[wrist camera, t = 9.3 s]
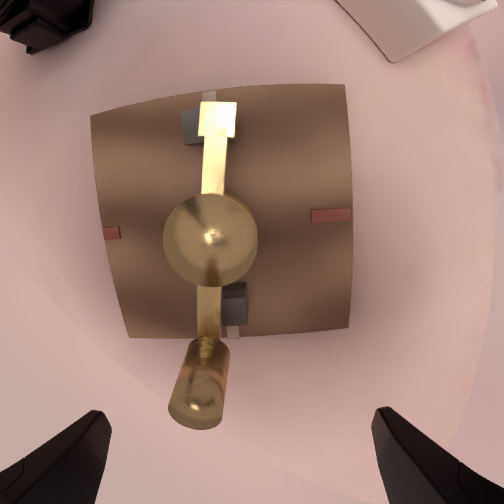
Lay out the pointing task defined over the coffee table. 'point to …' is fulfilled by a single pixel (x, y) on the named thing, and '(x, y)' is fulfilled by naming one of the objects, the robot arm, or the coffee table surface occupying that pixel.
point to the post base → (243, 187)
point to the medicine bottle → (412, 21)
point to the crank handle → (209, 268)
